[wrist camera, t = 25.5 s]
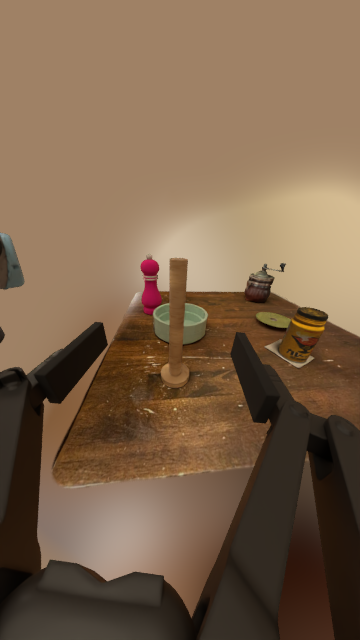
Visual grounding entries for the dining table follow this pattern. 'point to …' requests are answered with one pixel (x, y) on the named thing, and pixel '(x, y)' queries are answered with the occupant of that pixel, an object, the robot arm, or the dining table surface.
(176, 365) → the wooden post with base
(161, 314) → the bowl
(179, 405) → the dining table surface
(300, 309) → the condiment
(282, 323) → the olive green flat disc
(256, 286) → the coffee grinder
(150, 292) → the pepper mill
